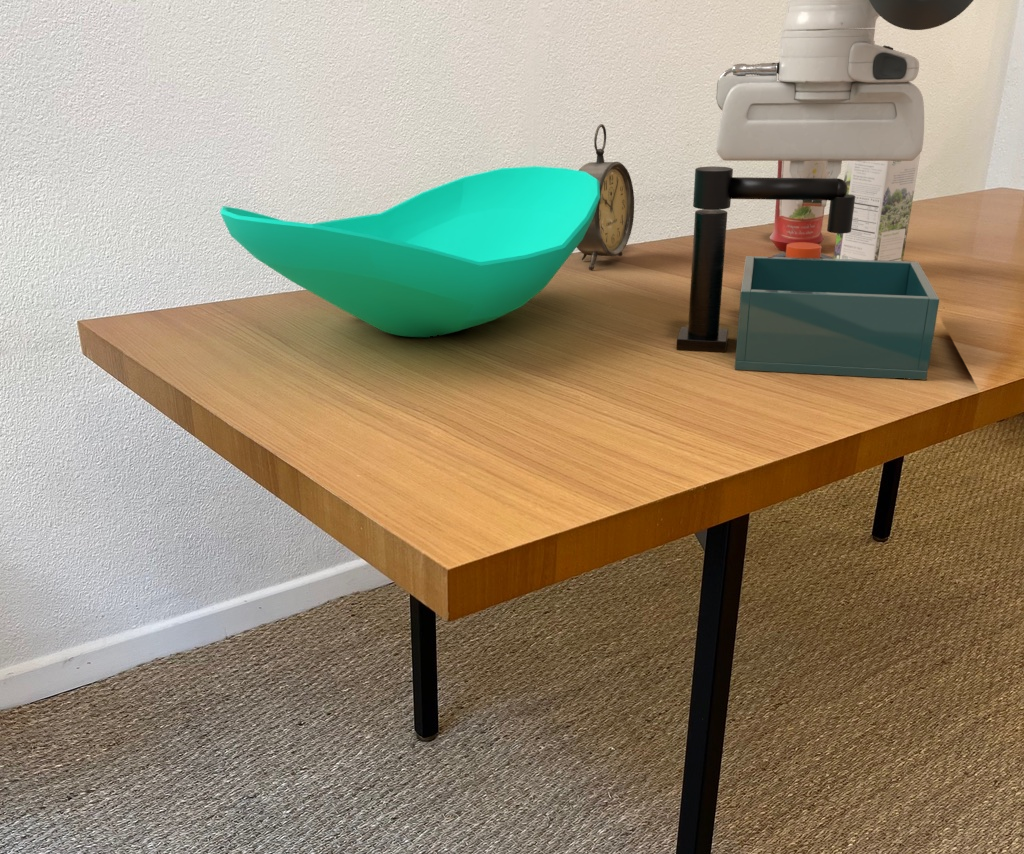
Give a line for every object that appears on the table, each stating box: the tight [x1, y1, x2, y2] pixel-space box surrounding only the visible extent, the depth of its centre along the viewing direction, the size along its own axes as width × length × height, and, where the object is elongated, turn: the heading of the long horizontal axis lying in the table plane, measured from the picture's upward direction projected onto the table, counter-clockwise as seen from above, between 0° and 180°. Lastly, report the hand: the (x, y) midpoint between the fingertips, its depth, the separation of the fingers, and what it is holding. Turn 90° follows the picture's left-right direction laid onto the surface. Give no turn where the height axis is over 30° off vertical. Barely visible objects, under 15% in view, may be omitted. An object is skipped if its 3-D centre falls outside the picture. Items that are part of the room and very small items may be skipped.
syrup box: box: [833, 153, 921, 261], centre depth 120 cm, size 6×6×14 cm
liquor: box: [769, 29, 830, 252], centre depth 131 cm, size 7×7×28 cm
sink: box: [734, 255, 940, 380], centre depth 93 cm, size 16×15×7 cm
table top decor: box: [220, 165, 600, 338], centre depth 101 cm, size 40×28×13 cm
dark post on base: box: [676, 209, 729, 353], centre depth 95 cm, size 4×4×12 cm
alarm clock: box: [576, 123, 635, 271], centre depth 127 cm, size 11×5×16 cm, turn 151°
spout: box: [692, 165, 855, 234], centre depth 91 cm, size 14×3×5 cm, turn 80°
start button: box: [785, 242, 822, 258], centre depth 112 cm, size 4×4×2 cm
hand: (811, 205), depth 110 cm, fingers closed
